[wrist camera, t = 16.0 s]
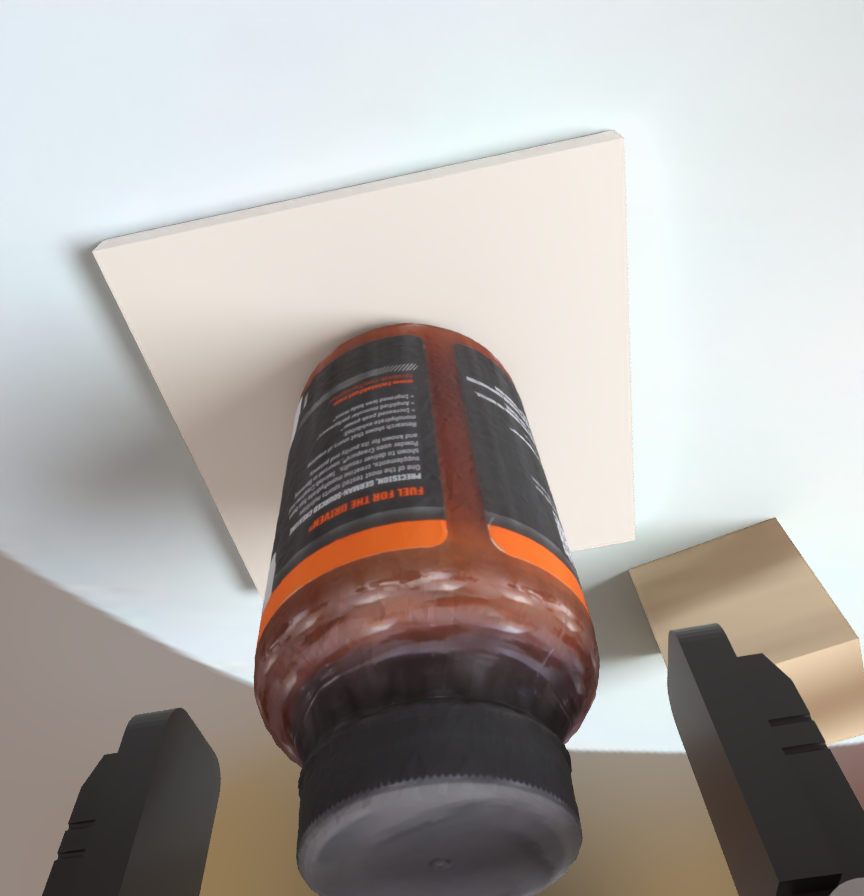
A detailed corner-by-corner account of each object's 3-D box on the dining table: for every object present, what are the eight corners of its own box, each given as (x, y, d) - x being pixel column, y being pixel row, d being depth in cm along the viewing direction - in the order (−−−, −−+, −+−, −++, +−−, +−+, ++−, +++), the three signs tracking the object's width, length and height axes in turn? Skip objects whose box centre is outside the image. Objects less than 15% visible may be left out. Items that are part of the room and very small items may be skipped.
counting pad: (103, 239, 16) (91, 251, 16) (614, 129, 16) (624, 137, 15) (268, 588, 23) (265, 606, 23) (628, 523, 23) (635, 540, 22)
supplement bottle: (253, 435, 19) (130, 899, 10) (386, 265, 16) (392, 671, 7) (427, 532, 21) (463, 978, 12) (566, 397, 19) (747, 829, 9)
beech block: (627, 567, 24) (677, 694, 20) (774, 516, 23) (858, 638, 19) (662, 650, 27) (713, 776, 23) (795, 607, 26) (873, 731, 22)
